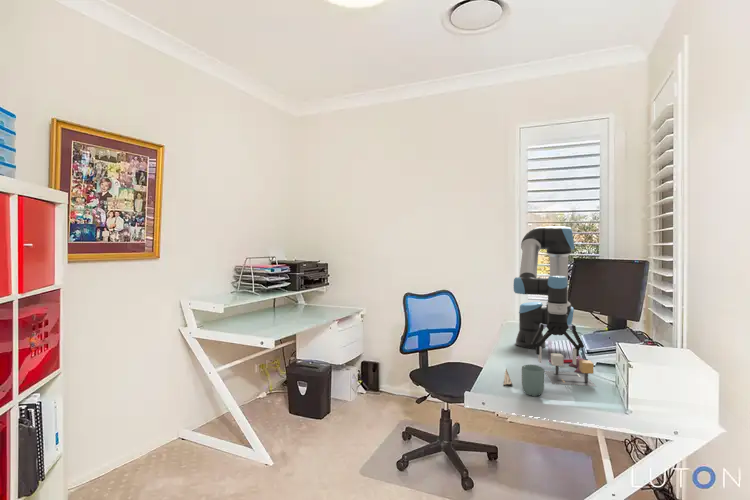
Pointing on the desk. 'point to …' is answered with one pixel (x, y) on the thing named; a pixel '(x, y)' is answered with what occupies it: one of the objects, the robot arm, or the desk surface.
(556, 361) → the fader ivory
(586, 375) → the fader amber
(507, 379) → the newspaper
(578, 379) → the mixer console
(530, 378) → the cup
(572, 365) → the video game controller
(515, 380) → the desk surface
